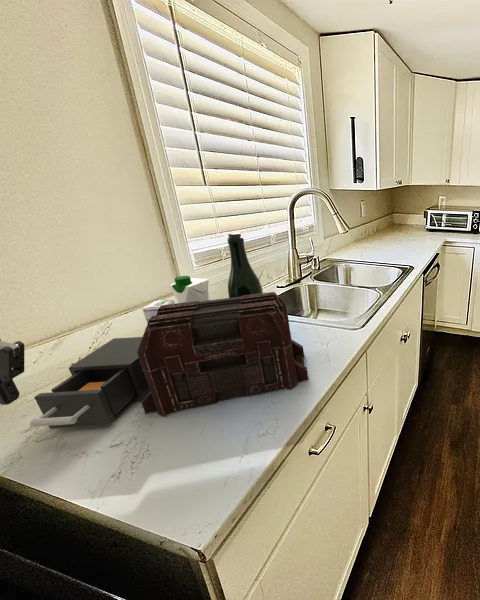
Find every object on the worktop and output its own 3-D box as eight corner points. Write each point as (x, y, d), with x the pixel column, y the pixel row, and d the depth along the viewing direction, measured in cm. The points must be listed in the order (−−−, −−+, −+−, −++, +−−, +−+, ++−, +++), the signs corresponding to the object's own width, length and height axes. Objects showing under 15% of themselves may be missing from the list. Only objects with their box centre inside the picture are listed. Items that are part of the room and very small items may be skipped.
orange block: (95, 399, 73) (88, 382, 71) (117, 397, 73) (110, 380, 72) (79, 412, 69) (71, 395, 67) (102, 411, 69) (94, 393, 68)
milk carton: (180, 338, 105) (163, 279, 98) (202, 326, 113) (188, 270, 106) (203, 340, 103) (187, 280, 96) (223, 328, 111) (210, 272, 104)
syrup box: (176, 351, 97) (163, 306, 92) (155, 352, 96) (141, 307, 91) (186, 342, 102) (174, 299, 97) (167, 343, 102) (154, 300, 96)
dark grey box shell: (143, 400, 76) (130, 364, 72) (84, 404, 75) (68, 367, 71) (175, 367, 89) (166, 335, 85) (125, 370, 88) (113, 338, 84)
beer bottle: (239, 328, 111) (218, 231, 99) (271, 324, 114) (255, 229, 102) (233, 342, 102) (209, 236, 90) (268, 338, 104) (250, 234, 92)
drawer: (93, 442, 63) (78, 408, 60) (27, 447, 62) (9, 413, 59) (149, 387, 79) (139, 359, 76) (97, 390, 78) (85, 362, 75)
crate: (140, 422, 69) (107, 334, 61) (165, 374, 85) (142, 300, 78) (309, 386, 80) (299, 308, 73) (303, 350, 97) (294, 283, 89)
